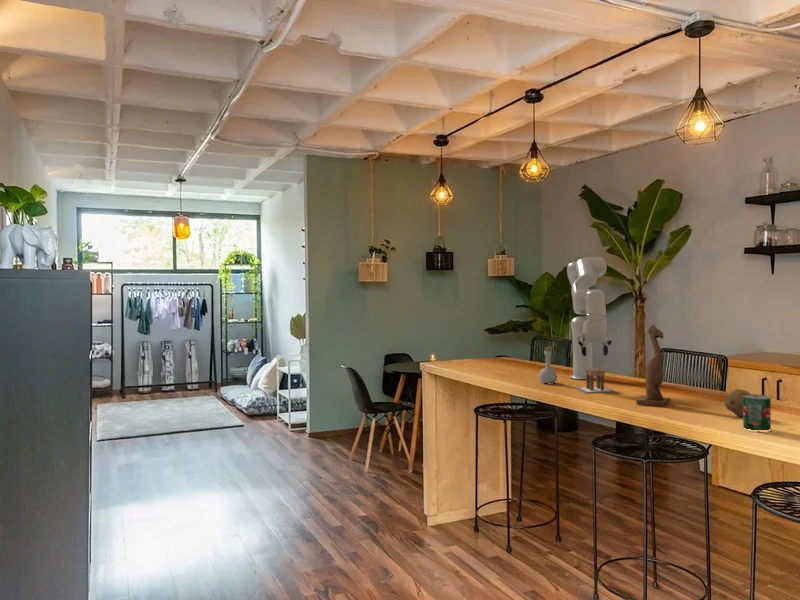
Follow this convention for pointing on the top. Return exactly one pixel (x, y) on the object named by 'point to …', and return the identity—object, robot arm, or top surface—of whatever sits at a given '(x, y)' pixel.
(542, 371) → the potion bottle
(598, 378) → the stool
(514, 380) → the top surface
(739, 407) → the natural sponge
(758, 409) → the canned tomato
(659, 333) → the bird sculpture
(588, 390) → the mat
